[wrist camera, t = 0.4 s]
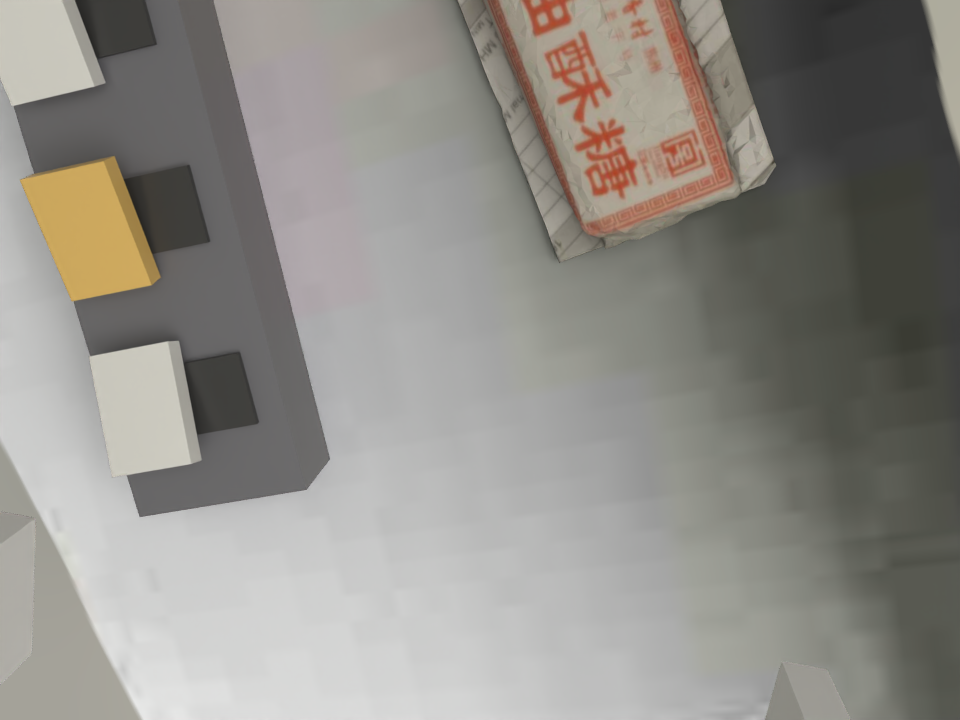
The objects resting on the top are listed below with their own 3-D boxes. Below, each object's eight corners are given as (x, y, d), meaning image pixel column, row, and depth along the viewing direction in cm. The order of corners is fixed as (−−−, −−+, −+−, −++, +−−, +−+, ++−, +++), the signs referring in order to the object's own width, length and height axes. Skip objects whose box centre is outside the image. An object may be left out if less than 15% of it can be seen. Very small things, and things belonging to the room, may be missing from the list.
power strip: (-30, -218, 38) (-104, -261, 34) (144, -269, 37) (90, -321, 33) (176, 484, 45) (136, 519, 41) (329, 459, 44) (304, 492, 40)
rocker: (101, 355, 39) (88, 356, 38) (179, 340, 39) (167, 341, 38) (124, 473, 39) (112, 477, 38) (201, 460, 39) (191, 463, 38)
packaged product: (801, 183, 35) (557, 277, 37) (775, 177, 39) (559, 261, 41) (639, -308, 31) (379, -178, 33) (631, -251, 36) (404, -139, 38)
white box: (-32, -34, 35) (-47, -33, 34) (53, -56, 34) (40, -57, 34) (25, 102, 37) (12, 106, 36) (105, 83, 36) (94, 86, 36)
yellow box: (32, 174, 37) (19, 180, 36) (114, 155, 36) (103, 160, 35) (82, 293, 39) (71, 301, 38) (160, 277, 38) (151, 285, 37)
